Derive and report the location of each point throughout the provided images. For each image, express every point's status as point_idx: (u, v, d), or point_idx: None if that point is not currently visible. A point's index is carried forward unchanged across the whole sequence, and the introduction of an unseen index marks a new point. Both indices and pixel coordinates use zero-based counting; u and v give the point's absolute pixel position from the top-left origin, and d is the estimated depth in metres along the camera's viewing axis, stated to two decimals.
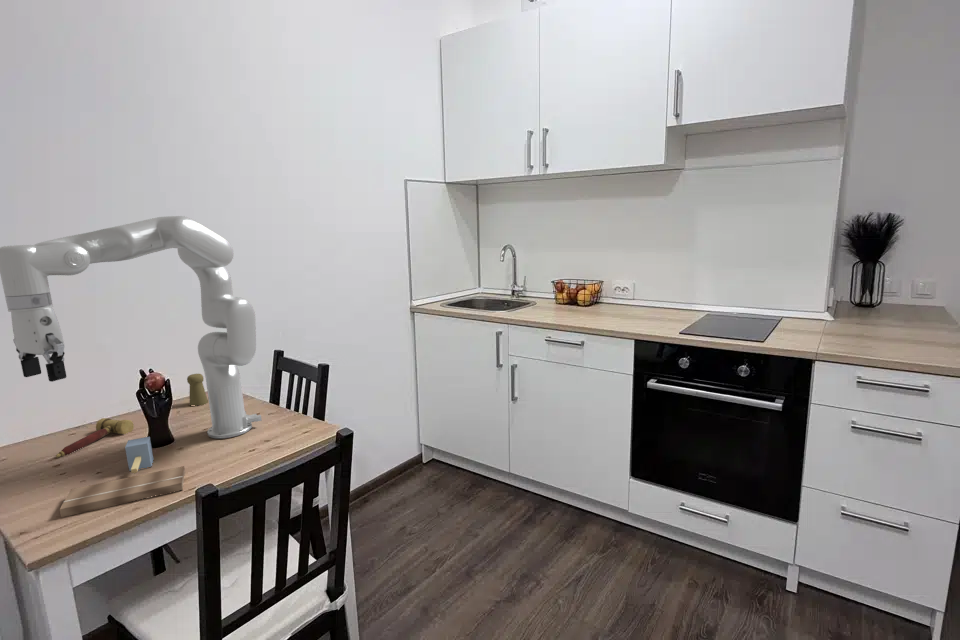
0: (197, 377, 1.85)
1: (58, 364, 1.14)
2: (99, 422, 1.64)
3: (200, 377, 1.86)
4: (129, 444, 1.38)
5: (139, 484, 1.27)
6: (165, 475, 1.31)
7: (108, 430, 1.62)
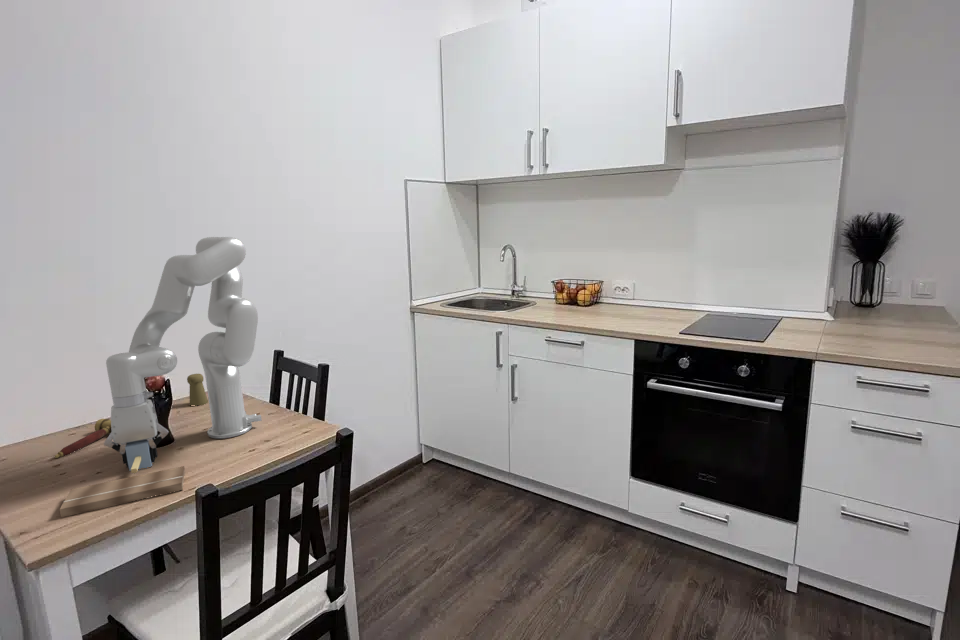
0: (197, 377, 1.85)
1: (155, 447, 1.42)
2: (98, 422, 1.63)
3: (200, 377, 1.86)
4: (129, 444, 1.38)
5: (139, 484, 1.27)
6: (165, 475, 1.31)
7: (107, 430, 1.61)
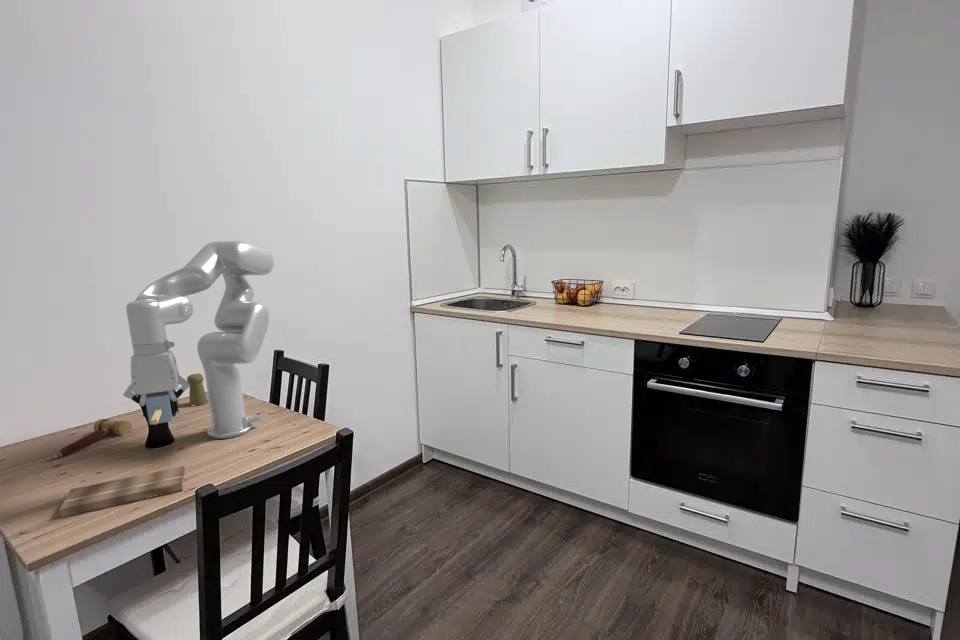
0: (197, 377, 1.85)
1: (176, 401, 1.36)
2: (97, 423, 1.63)
3: (200, 377, 1.86)
4: (149, 396, 1.32)
5: (139, 484, 1.27)
6: (165, 475, 1.31)
7: (106, 431, 1.61)
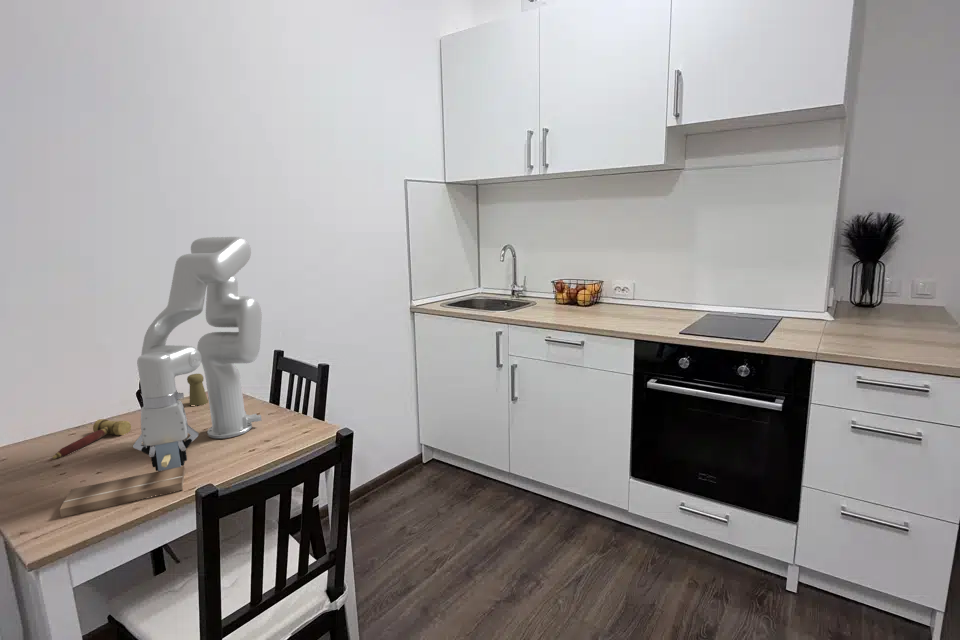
0: (197, 377, 1.85)
1: (185, 450, 1.38)
2: (96, 423, 1.63)
3: (200, 377, 1.86)
4: None
5: (139, 484, 1.27)
6: (165, 475, 1.31)
7: (105, 431, 1.61)
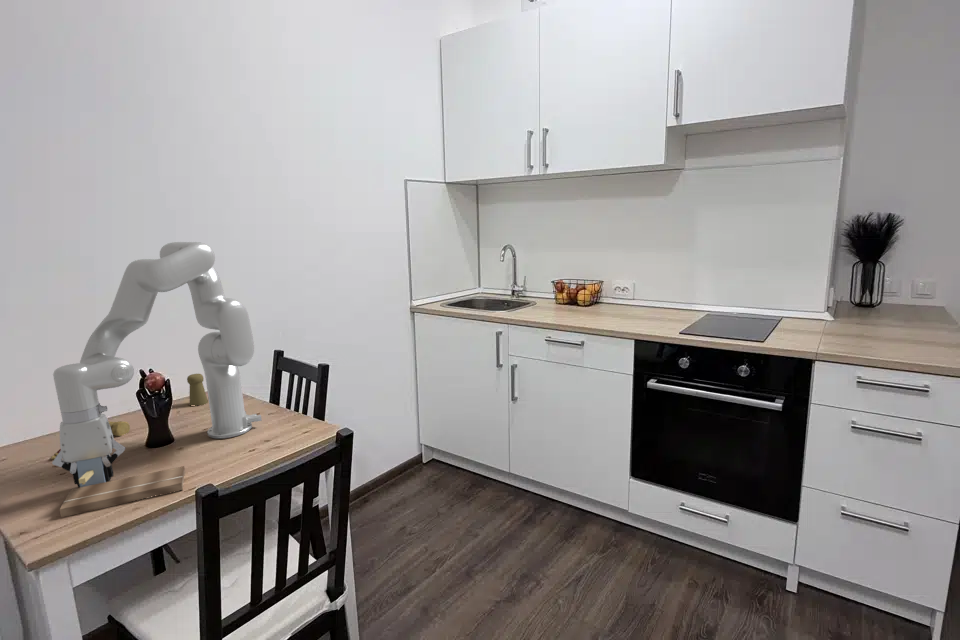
0: (197, 377, 1.85)
1: (111, 465, 1.31)
2: None
3: (200, 377, 1.86)
4: None
5: (139, 484, 1.27)
6: (165, 475, 1.31)
7: None
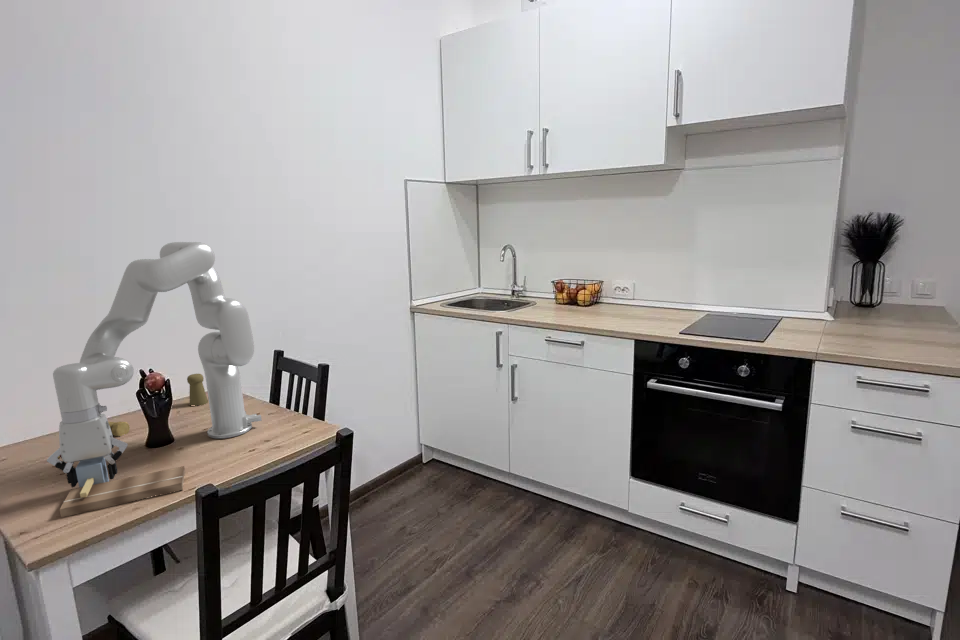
0: (197, 377, 1.85)
1: (115, 463, 1.32)
2: None
3: (200, 377, 1.86)
4: (80, 465, 1.27)
5: (139, 484, 1.27)
6: (165, 475, 1.31)
7: None
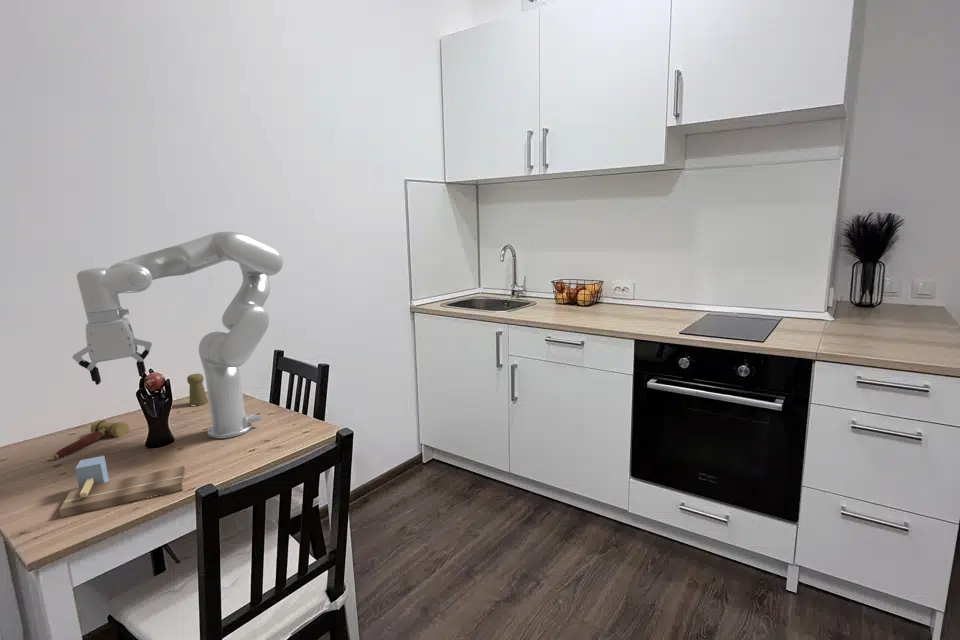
0: (197, 377, 1.85)
1: (143, 361, 1.40)
2: (94, 424, 1.62)
3: (200, 377, 1.86)
4: (80, 465, 1.27)
5: (139, 484, 1.27)
6: (165, 475, 1.31)
7: (103, 432, 1.60)
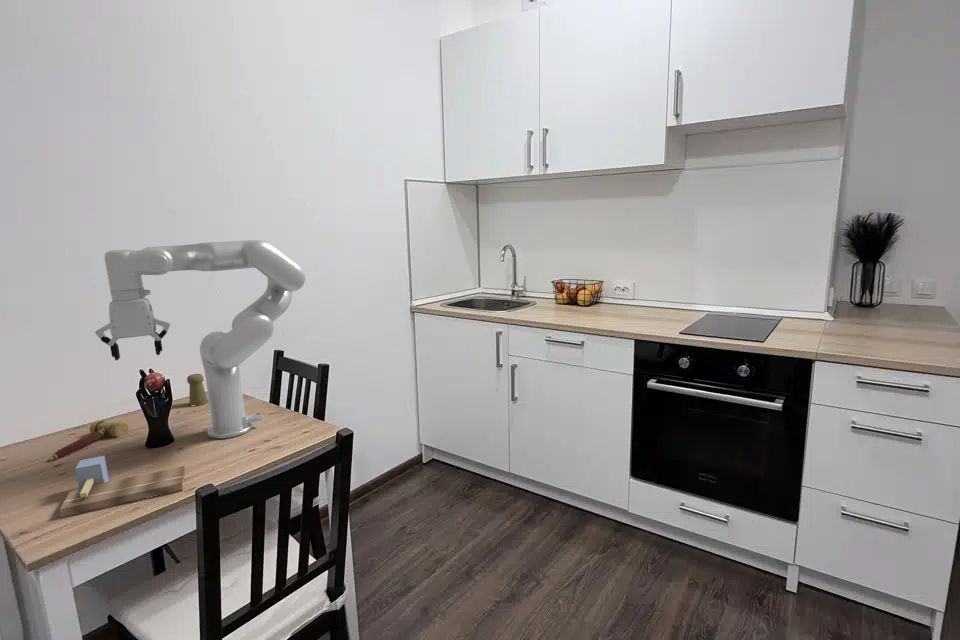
0: (197, 377, 1.85)
1: (160, 341, 1.46)
2: (93, 424, 1.62)
3: (200, 377, 1.86)
4: (80, 465, 1.27)
5: (139, 484, 1.27)
6: (165, 475, 1.31)
7: (102, 433, 1.60)
